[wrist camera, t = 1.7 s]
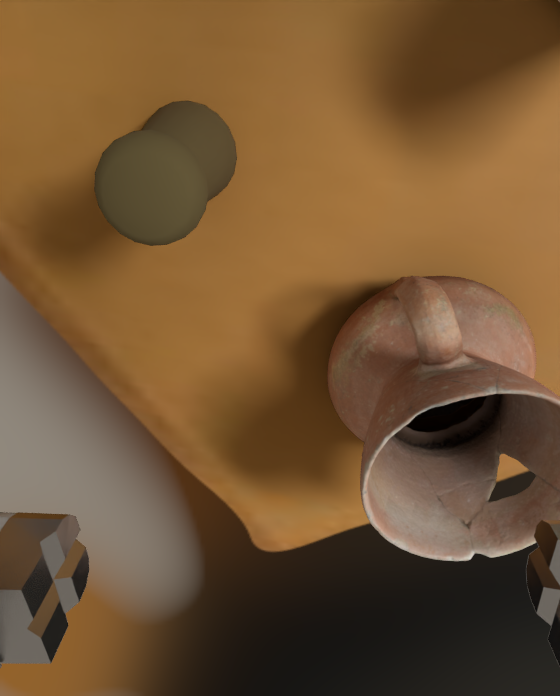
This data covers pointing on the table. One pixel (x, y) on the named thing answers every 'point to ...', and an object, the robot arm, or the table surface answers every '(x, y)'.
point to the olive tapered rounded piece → (165, 173)
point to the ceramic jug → (446, 417)
